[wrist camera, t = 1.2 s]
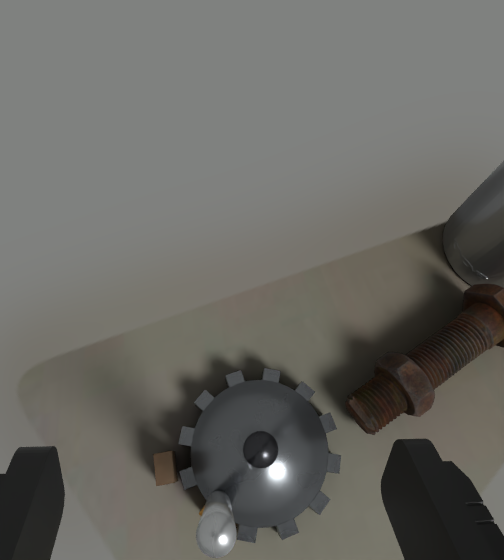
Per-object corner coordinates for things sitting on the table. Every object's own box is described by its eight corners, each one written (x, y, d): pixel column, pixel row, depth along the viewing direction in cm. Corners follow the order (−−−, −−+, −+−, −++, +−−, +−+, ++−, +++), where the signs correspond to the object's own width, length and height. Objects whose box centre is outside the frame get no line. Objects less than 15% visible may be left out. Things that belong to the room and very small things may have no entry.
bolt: (339, 413, 36) (473, 316, 40) (382, 462, 33) (525, 351, 36) (330, 373, 33) (479, 269, 36) (378, 424, 29) (539, 303, 32)
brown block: (174, 451, 33) (171, 450, 30) (178, 480, 32) (174, 482, 30) (158, 454, 33) (153, 454, 30) (161, 484, 32) (156, 486, 30)
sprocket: (248, 343, 36) (265, 271, 22) (364, 439, 34) (462, 426, 20) (147, 460, 32) (92, 462, 19) (269, 577, 30) (310, 676, 16)
